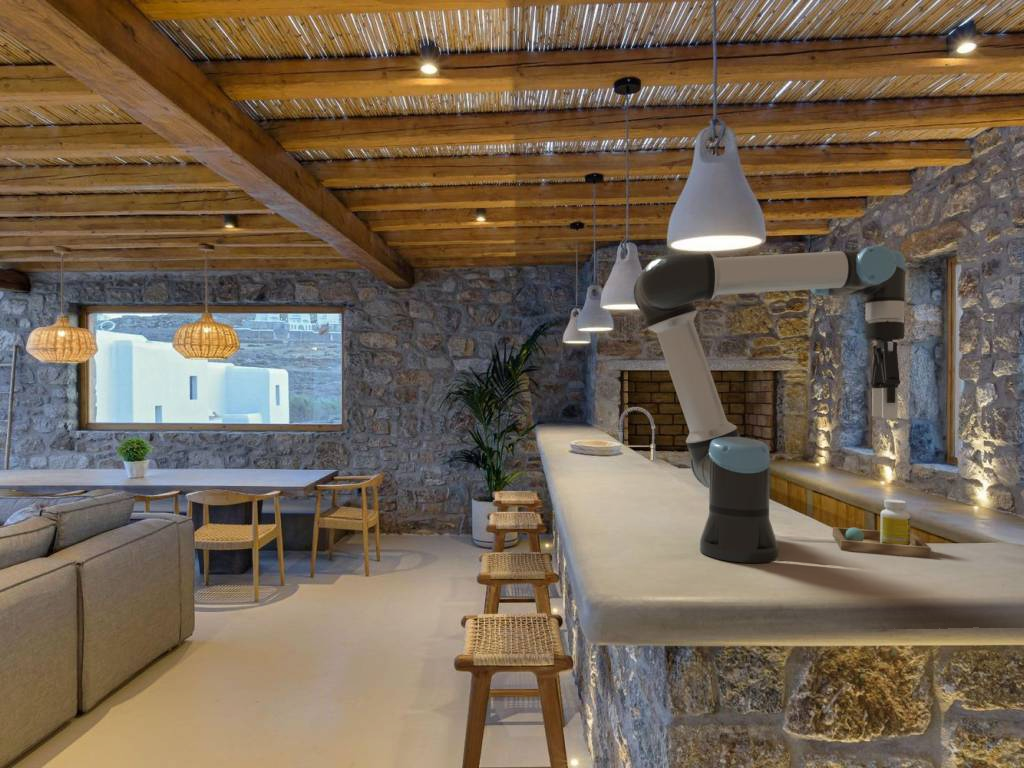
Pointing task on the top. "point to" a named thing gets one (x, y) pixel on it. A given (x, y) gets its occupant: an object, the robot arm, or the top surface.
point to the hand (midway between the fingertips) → (884, 417)
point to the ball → (854, 534)
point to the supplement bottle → (895, 523)
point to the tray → (881, 544)
